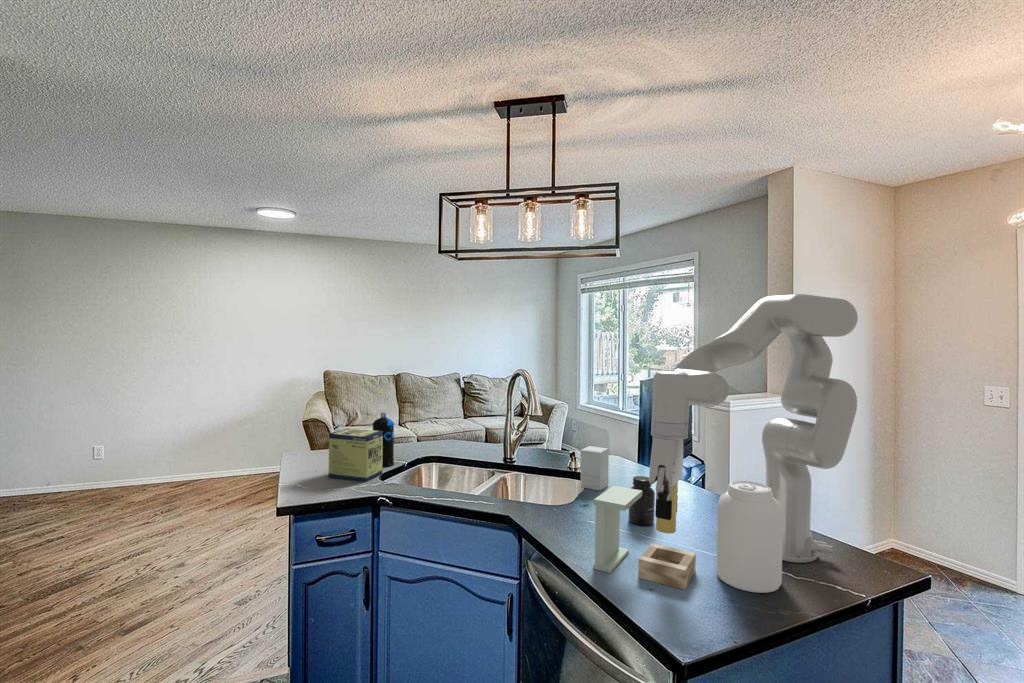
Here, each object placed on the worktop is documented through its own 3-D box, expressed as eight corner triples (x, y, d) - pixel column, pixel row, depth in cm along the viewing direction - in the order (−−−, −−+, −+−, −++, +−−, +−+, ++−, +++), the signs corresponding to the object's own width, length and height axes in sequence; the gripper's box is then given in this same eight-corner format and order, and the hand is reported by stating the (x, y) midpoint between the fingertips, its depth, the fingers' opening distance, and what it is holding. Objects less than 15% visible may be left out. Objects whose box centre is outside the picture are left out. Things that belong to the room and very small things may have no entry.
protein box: (367, 482, 174) (367, 436, 174) (327, 478, 179) (327, 433, 178) (383, 474, 184) (383, 430, 184) (345, 470, 189) (345, 427, 188)
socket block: (695, 571, 112) (695, 553, 112) (685, 590, 104) (685, 570, 104) (651, 560, 117) (651, 543, 117) (638, 577, 109) (638, 558, 109)
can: (750, 599, 101) (753, 497, 100) (703, 571, 112) (705, 480, 112) (795, 587, 106) (798, 490, 105) (745, 562, 117) (747, 474, 117)
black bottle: (368, 466, 193) (368, 413, 193) (377, 461, 201) (377, 410, 201) (389, 468, 192) (389, 414, 191) (397, 462, 200) (397, 411, 200)
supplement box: (609, 485, 174) (609, 448, 173) (600, 491, 167) (601, 452, 167) (588, 482, 178) (589, 445, 177) (579, 487, 171) (580, 449, 171)
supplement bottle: (655, 527, 137) (655, 482, 137) (628, 525, 138) (629, 480, 138) (653, 518, 144) (654, 475, 143) (628, 516, 145) (628, 473, 145)
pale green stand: (641, 555, 120) (642, 490, 119) (623, 576, 109) (625, 505, 109) (612, 548, 123) (613, 485, 123) (592, 568, 113) (594, 499, 113)
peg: (658, 524, 113) (661, 470, 113) (677, 529, 111) (679, 473, 111) (653, 530, 109) (655, 474, 109) (672, 534, 107) (675, 477, 107)
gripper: (662, 422, 119) (659, 501, 119) (640, 433, 105) (636, 523, 105) (696, 426, 115) (693, 508, 115) (677, 438, 101) (674, 531, 101)
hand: (666, 514), depth 110 cm, fingers closed on peg, 4 cm apart
